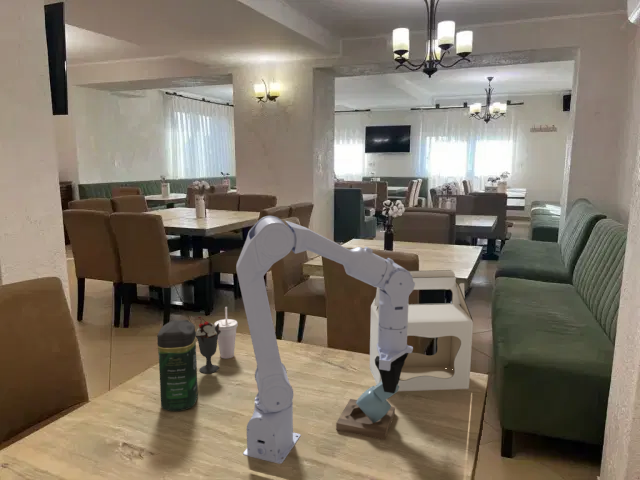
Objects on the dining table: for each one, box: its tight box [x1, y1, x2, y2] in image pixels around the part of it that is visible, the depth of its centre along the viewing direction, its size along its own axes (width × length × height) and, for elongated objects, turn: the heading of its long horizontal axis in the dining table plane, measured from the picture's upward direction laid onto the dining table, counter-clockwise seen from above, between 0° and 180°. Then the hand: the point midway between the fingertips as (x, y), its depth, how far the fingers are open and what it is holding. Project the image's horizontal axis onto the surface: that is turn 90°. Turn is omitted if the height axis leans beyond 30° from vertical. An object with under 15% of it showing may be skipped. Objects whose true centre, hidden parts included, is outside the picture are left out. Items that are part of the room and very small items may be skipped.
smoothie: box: [213, 306, 239, 360], centre depth 128 cm, size 6×6×14 cm
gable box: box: [369, 269, 474, 392], centre depth 114 cm, size 22×13×28 cm, turn 94°
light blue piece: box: [356, 381, 399, 423], centre depth 95 cm, size 9×5×5 cm
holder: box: [335, 398, 396, 441], centre depth 97 cm, size 10×10×2 cm
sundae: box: [195, 315, 221, 375], centre depth 120 cm, size 7×7×15 cm
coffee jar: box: [156, 319, 199, 412], centre depth 104 cm, size 10×8×19 cm
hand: (390, 388), depth 93 cm, fingers closed on light blue piece, 2 cm apart
